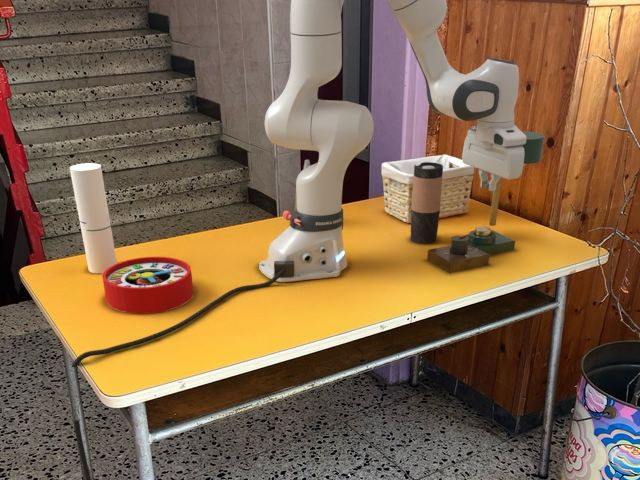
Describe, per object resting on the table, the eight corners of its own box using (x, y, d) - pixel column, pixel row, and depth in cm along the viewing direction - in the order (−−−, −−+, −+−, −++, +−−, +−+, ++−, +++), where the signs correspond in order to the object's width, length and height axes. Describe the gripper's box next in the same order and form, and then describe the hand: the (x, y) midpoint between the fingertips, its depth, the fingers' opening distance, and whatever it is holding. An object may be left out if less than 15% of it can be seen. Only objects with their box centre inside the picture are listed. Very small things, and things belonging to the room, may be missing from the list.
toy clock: (91, 266, 171) (173, 251, 180) (96, 289, 175) (176, 274, 183) (116, 295, 157) (204, 277, 165) (121, 320, 160) (206, 301, 168)
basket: (404, 226, 214) (407, 174, 206) (377, 211, 226) (379, 161, 218) (472, 214, 222) (478, 164, 214) (442, 201, 235) (446, 153, 226)
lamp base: (477, 257, 191) (479, 240, 189) (455, 246, 199) (456, 229, 196) (514, 250, 196) (516, 233, 193) (491, 239, 203) (493, 223, 201)
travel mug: (438, 244, 200) (445, 169, 189) (410, 244, 200) (415, 169, 189) (435, 235, 206) (441, 162, 195) (408, 235, 206) (412, 162, 195)
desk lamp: (501, 230, 196) (512, 142, 183) (478, 220, 203) (488, 134, 191) (539, 223, 200) (553, 136, 188) (515, 213, 208) (527, 129, 196)
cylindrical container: (103, 261, 191) (85, 161, 177) (123, 266, 188) (107, 165, 174) (82, 270, 186) (63, 168, 172) (103, 275, 182) (84, 172, 169)
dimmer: (449, 273, 182) (450, 261, 180) (426, 260, 190) (427, 249, 188) (488, 265, 186) (489, 253, 185) (465, 253, 194) (466, 241, 192)
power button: (480, 238, 191) (481, 232, 190) (471, 234, 194) (472, 227, 193) (493, 236, 193) (494, 229, 192) (483, 232, 196) (484, 225, 195)
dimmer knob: (460, 256, 184) (461, 241, 182) (446, 251, 186) (447, 237, 184) (470, 251, 186) (472, 237, 184) (456, 247, 189) (458, 233, 187)
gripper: (458, 125, 186) (453, 181, 194) (510, 141, 171) (502, 200, 178) (479, 123, 189) (473, 178, 196) (531, 138, 173) (523, 197, 181)
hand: (487, 189), depth 187 cm, fingers closed
